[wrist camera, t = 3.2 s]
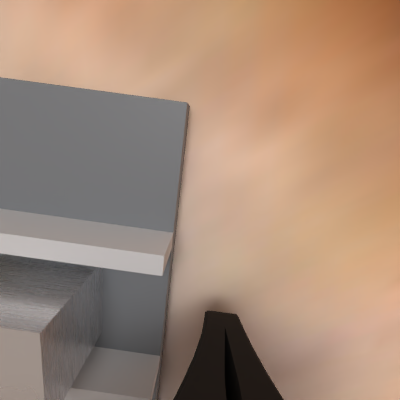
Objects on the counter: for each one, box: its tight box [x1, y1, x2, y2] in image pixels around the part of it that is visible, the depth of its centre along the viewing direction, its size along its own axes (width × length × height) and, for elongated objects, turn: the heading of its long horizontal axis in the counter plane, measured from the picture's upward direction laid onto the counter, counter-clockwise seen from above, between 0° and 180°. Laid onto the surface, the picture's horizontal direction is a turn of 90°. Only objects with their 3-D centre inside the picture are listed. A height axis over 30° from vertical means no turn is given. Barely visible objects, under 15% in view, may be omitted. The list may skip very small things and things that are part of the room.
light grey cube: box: [0, 254, 103, 400], centre depth 9 cm, size 4×4×4 cm
